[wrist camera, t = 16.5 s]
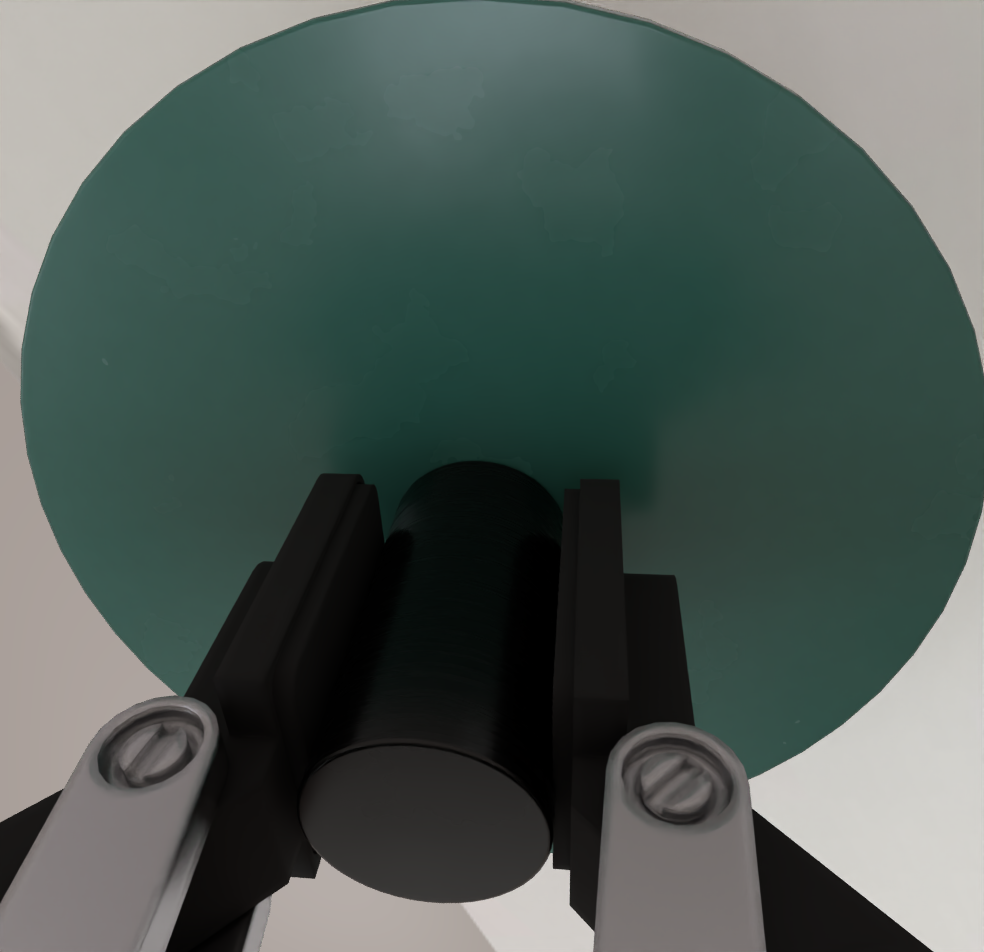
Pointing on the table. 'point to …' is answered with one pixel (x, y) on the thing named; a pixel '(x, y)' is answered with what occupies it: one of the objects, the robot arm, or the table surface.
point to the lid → (505, 393)
